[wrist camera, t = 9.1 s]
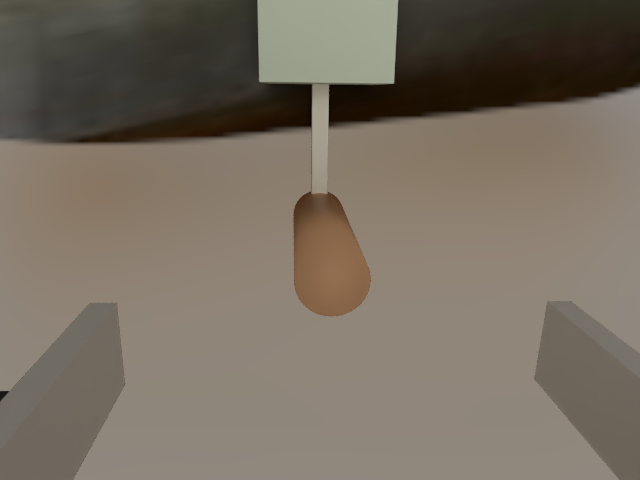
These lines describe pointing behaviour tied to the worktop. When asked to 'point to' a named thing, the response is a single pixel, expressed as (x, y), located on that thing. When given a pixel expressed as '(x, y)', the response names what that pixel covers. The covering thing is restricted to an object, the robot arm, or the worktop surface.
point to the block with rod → (326, 126)
